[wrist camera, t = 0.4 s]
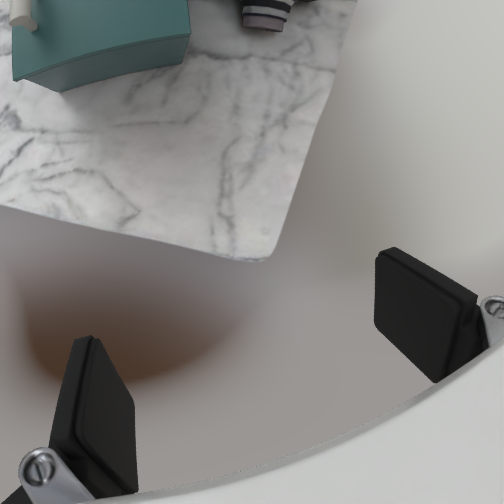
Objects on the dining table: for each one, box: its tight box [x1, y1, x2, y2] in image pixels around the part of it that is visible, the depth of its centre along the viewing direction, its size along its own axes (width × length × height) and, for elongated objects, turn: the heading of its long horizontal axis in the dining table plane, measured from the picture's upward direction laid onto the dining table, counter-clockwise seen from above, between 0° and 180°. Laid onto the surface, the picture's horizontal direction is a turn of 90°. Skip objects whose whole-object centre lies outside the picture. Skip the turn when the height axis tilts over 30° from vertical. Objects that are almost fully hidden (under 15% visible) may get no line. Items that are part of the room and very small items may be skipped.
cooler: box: [24, 36, 190, 93], centre depth 23 cm, size 15×13×11 cm
